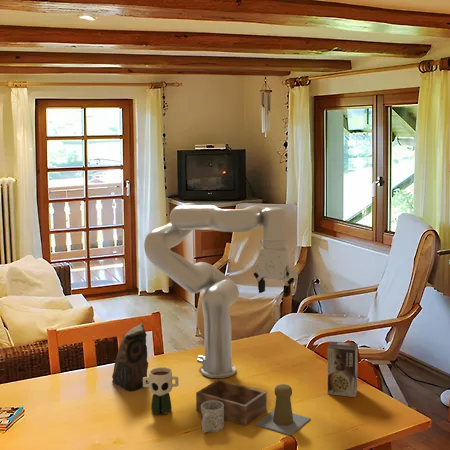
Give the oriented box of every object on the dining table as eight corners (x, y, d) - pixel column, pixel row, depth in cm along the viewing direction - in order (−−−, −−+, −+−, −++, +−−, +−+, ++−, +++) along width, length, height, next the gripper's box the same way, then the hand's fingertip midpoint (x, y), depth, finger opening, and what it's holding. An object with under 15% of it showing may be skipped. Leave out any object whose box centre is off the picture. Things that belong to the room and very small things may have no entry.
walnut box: (196, 410, 197) (196, 392, 196) (218, 396, 207) (218, 379, 206) (245, 425, 187) (245, 406, 186) (266, 410, 197) (266, 392, 196)
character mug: (142, 416, 194) (141, 376, 192) (145, 406, 201) (143, 367, 199) (178, 416, 194) (177, 375, 192) (179, 405, 201) (178, 366, 199)
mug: (207, 419, 191) (206, 399, 190) (227, 423, 189) (227, 402, 188) (192, 435, 182) (192, 413, 181) (214, 439, 180) (213, 417, 179)
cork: (292, 426, 186) (292, 390, 184) (271, 424, 187) (271, 389, 185) (294, 417, 191) (294, 382, 190) (274, 415, 193) (274, 381, 191)
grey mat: (255, 425, 188) (255, 423, 188) (275, 409, 198) (275, 408, 197) (291, 435, 181) (291, 434, 181) (310, 419, 191) (310, 418, 191)
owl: (146, 374, 226) (144, 319, 223) (158, 387, 215) (156, 330, 212) (111, 381, 221) (108, 325, 217) (122, 394, 210) (119, 336, 206)
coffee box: (357, 389, 211) (358, 343, 208) (355, 398, 205) (356, 350, 202) (330, 386, 214) (330, 340, 211) (326, 394, 208) (327, 347, 205)
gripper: (246, 243, 214) (246, 293, 217) (291, 249, 205) (291, 300, 208) (257, 240, 221) (258, 288, 223) (302, 245, 211) (302, 295, 214)
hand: (274, 294), depth 215 cm, fingers open, 9 cm apart
